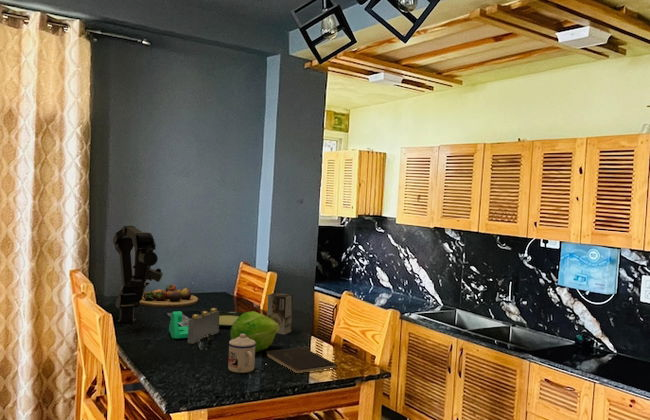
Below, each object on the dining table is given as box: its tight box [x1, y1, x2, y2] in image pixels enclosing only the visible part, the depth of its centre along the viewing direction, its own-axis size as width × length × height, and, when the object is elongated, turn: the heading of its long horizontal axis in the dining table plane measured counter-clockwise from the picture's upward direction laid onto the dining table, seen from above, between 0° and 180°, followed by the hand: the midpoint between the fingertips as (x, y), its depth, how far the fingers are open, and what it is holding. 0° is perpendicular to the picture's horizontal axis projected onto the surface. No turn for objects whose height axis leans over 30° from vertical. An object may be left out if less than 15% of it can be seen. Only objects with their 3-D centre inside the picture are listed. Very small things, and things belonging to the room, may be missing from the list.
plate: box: [199, 310, 245, 328], centre depth 250 cm, size 28×28×2 cm
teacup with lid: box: [227, 334, 256, 374], centre depth 182 cm, size 12×9×12 cm
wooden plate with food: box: [139, 284, 199, 309], centre depth 289 cm, size 32×32×8 cm
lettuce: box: [229, 310, 280, 353], centre depth 207 cm, size 15×20×14 cm
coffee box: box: [266, 292, 294, 335], centre depth 237 cm, size 9×6×16 cm
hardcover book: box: [265, 346, 338, 374], centre depth 195 cm, size 16×23×2 cm
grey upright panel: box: [187, 307, 221, 344], centre depth 221 cm, size 20×2×10 cm, turn 162°
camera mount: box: [168, 310, 188, 339], centre depth 221 cm, size 12×8×10 cm, turn 27°
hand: (140, 300), depth 228 cm, fingers closed
